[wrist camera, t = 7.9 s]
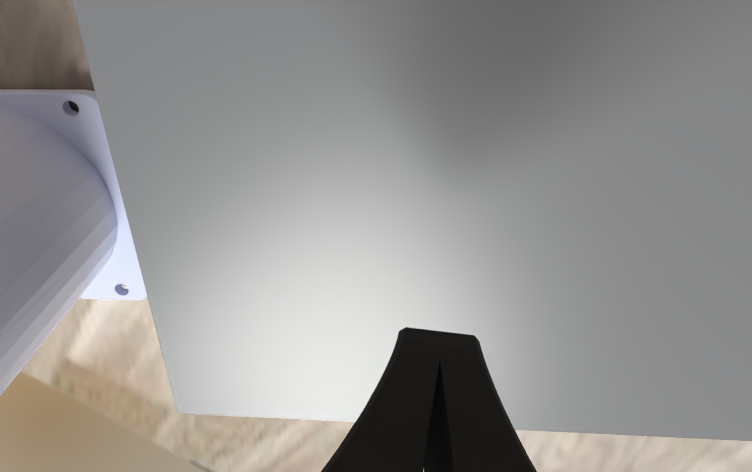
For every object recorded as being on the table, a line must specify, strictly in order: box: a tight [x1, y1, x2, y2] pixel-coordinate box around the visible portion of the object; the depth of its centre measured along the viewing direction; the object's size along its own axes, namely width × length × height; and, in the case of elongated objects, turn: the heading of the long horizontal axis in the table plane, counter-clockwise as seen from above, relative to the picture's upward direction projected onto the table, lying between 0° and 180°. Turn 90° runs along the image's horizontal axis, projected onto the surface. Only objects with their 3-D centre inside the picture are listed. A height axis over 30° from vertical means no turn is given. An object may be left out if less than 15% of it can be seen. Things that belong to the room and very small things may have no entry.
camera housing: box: [71, 0, 752, 441], centre depth 18 cm, size 20×12×6 cm, turn 92°
